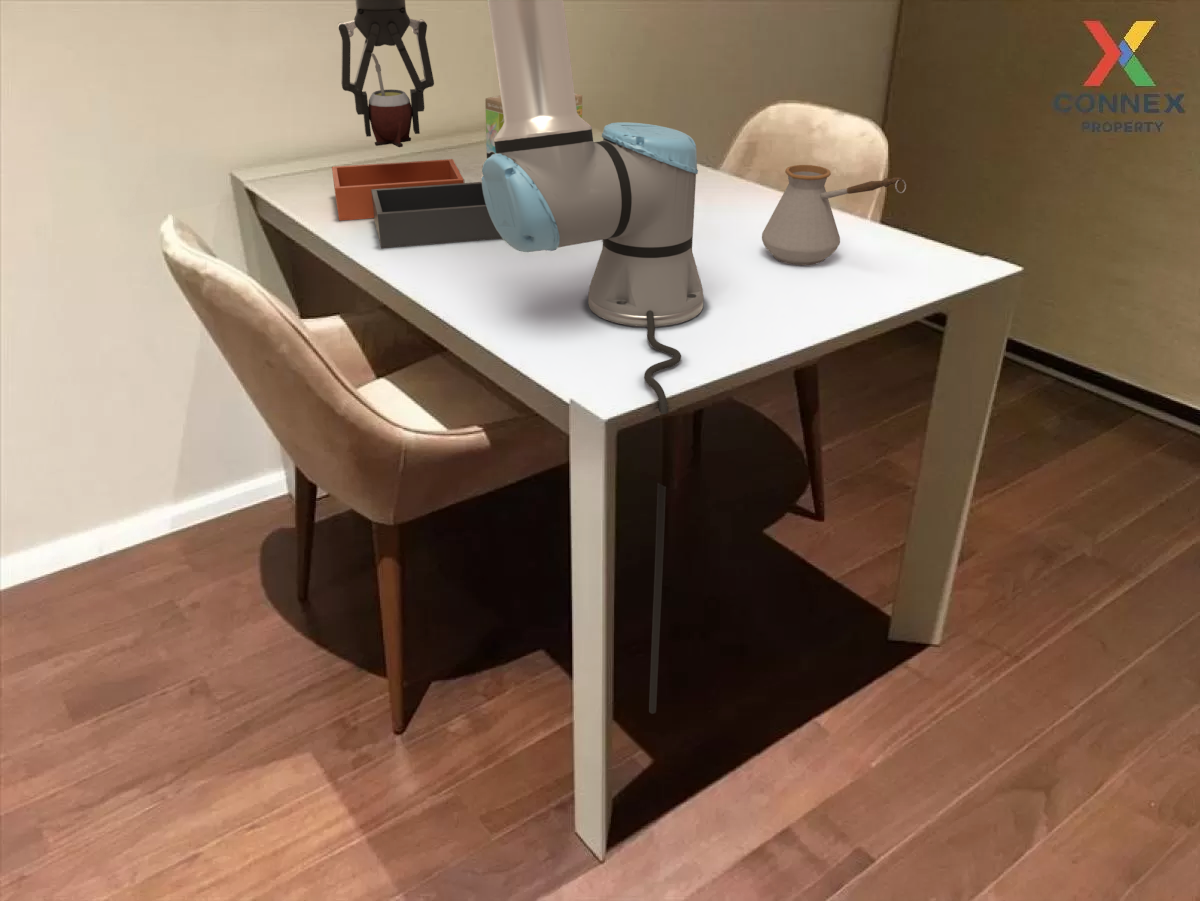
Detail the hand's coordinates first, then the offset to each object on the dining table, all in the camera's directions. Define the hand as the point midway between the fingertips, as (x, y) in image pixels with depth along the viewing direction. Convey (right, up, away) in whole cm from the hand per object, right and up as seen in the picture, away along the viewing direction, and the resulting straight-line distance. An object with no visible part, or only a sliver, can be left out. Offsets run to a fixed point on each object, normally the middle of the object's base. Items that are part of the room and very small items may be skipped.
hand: (392, 132), depth 170 cm
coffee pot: (+67, -25, -18) cm, 74 cm away
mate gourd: (0, -2, +1) cm, 2 cm away
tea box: (+22, -3, +20) cm, 30 cm away
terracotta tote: (0, -10, +6) cm, 12 cm away
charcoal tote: (+9, -17, -5) cm, 20 cm away
